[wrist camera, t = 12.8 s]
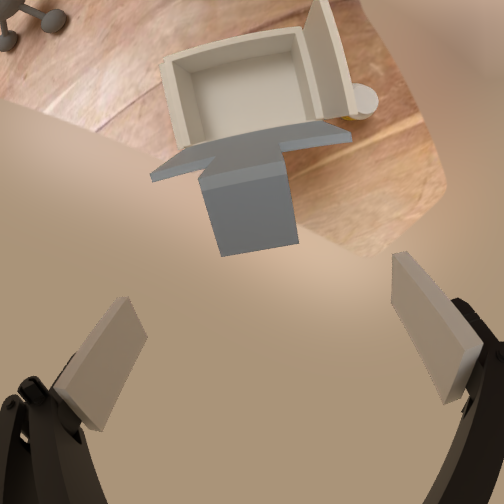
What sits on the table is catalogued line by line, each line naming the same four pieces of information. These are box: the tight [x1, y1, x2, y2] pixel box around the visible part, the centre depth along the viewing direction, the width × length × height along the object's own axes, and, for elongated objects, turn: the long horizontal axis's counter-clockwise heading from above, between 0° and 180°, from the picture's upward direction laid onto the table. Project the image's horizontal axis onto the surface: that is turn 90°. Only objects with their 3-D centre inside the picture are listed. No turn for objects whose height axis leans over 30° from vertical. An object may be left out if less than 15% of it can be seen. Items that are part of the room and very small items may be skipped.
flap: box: [150, 120, 352, 257], centre depth 26 cm, size 20×17×5 cm
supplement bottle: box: [339, 83, 379, 120], centre depth 35 cm, size 5×5×10 cm
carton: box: [159, 0, 358, 150], centre depth 30 cm, size 14×20×22 cm
